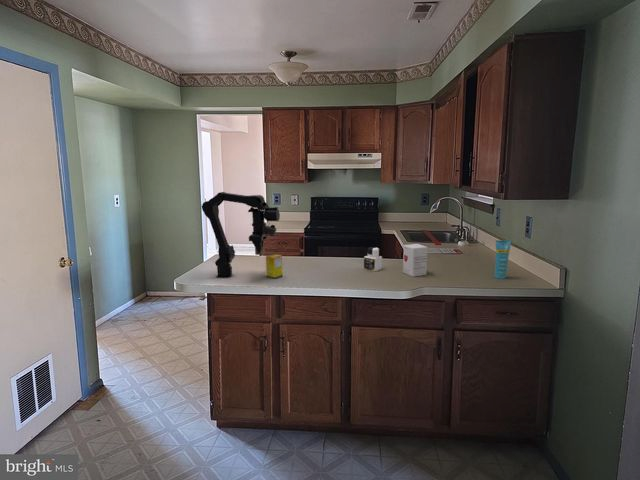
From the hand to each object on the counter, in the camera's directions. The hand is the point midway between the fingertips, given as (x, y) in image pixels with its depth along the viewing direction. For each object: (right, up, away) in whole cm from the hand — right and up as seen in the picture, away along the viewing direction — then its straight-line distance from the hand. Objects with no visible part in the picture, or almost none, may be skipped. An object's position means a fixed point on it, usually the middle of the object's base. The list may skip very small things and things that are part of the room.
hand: (260, 251), depth 205 cm
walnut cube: (0, -1, 0) cm, 1 cm away
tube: (+121, -13, +2) cm, 121 cm away
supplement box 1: (+7, -13, +5) cm, 15 cm away
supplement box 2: (+79, -12, +9) cm, 80 cm away
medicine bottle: (+59, -10, +18) cm, 62 cm away
